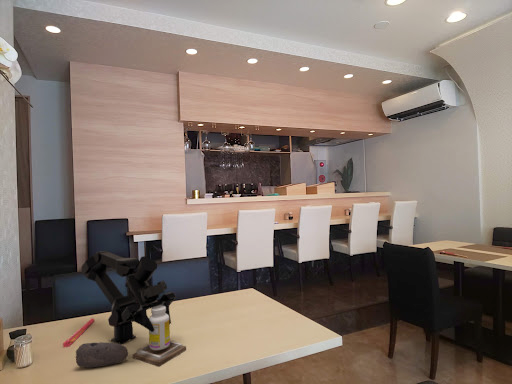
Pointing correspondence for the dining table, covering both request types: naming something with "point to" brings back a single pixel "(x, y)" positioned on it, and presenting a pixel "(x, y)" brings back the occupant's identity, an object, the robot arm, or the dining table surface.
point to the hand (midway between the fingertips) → (161, 327)
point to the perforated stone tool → (100, 354)
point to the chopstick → (78, 333)
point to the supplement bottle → (159, 328)
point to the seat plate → (159, 353)
